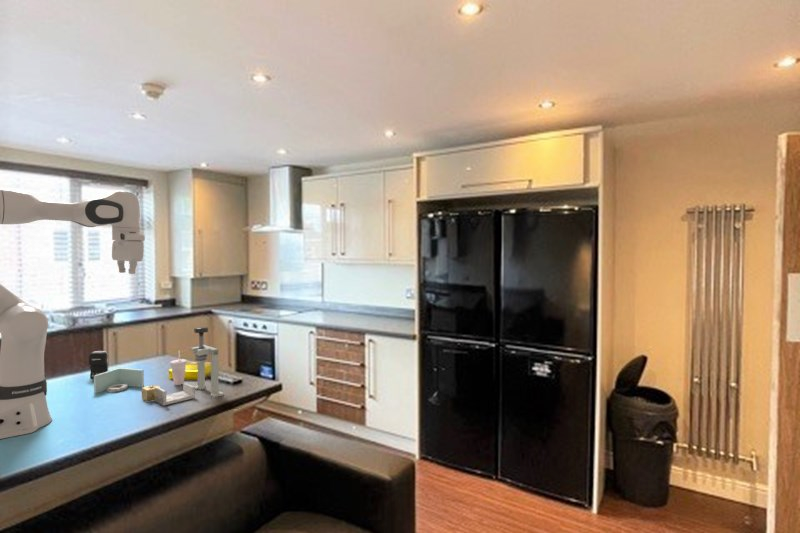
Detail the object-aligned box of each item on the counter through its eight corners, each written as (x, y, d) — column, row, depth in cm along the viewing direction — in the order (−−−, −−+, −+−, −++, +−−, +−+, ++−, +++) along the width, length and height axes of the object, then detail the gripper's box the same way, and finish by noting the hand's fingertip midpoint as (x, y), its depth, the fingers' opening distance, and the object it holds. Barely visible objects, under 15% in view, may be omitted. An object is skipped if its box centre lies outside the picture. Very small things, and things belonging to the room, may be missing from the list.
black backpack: (87, 379, 193) (87, 353, 192) (92, 376, 197) (91, 351, 196) (105, 378, 194) (104, 352, 194) (109, 376, 198) (108, 350, 197)
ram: (198, 361, 172) (197, 329, 171) (192, 359, 175) (191, 328, 174) (210, 359, 176) (210, 328, 175) (204, 357, 179) (204, 326, 178)
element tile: (166, 380, 194) (166, 369, 194) (184, 370, 209) (184, 360, 209) (200, 381, 193) (200, 370, 193) (216, 371, 208) (216, 361, 208)
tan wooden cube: (147, 402, 166) (147, 388, 165) (141, 399, 169) (141, 386, 168) (161, 398, 169) (161, 385, 169) (155, 396, 173) (155, 383, 172)
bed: (163, 405, 161) (163, 391, 161) (154, 401, 166) (154, 387, 166) (195, 397, 170) (194, 384, 170) (185, 393, 175) (185, 380, 175)
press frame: (206, 399, 168) (206, 352, 168) (185, 390, 179) (184, 345, 179) (223, 395, 174) (223, 349, 173) (202, 386, 185) (201, 343, 184)
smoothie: (190, 381, 190) (189, 349, 190) (181, 386, 184) (181, 352, 183) (176, 381, 191) (175, 348, 190) (166, 385, 185) (166, 352, 184)
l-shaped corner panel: (94, 394, 175) (93, 375, 175) (120, 385, 187) (119, 367, 186) (119, 397, 172) (118, 378, 172) (143, 387, 184) (143, 369, 184)
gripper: (106, 235, 168) (107, 272, 169) (127, 235, 155) (128, 274, 156) (125, 236, 173) (125, 271, 174) (146, 235, 160) (147, 274, 161)
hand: (127, 273), depth 165 cm, fingers open, 8 cm apart
